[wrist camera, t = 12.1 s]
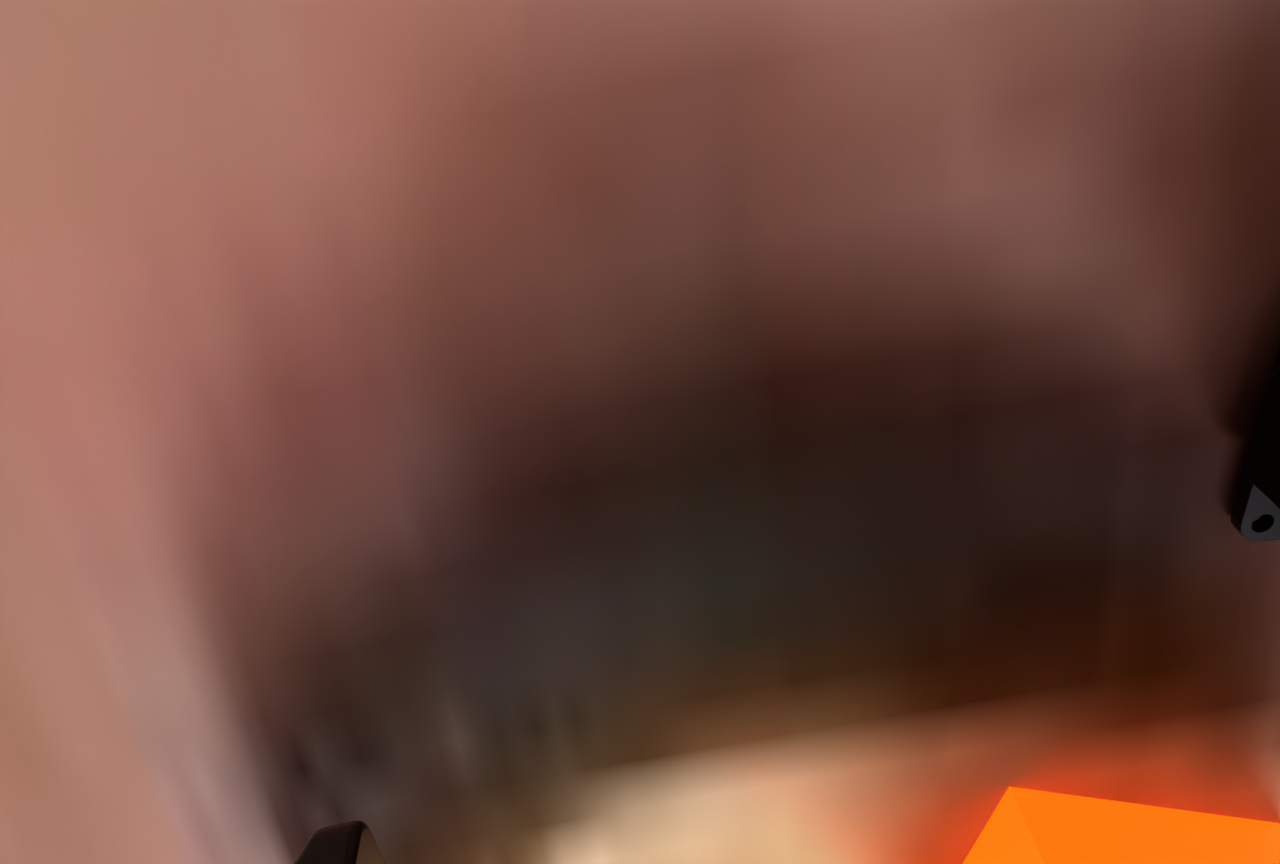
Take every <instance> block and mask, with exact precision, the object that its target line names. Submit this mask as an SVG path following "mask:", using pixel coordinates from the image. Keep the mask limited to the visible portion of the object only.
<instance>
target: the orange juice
mask: <svg viewBox="0 0 1280 864" xmlns="http://www.w3.org/2000/svg"><path fill="white" fill-rule="evenodd" d="M963 864H1280V823H1274V822H1267V821H1259V820H1252V819H1245V818H1237V817H1230V816H1223V815H1215V814H1208V813H1201V812H1193V811H1186V810H1179V809H1171V808H1164V807H1156V806H1149V805H1142V804H1134V803H1127V802H1120V801H1112V800H1105V799H1098V798H1090V797H1083V796H1075V795H1068V794H1061V793H1053V792H1046V791H1039V790H1031V789H1024V788H1017V787H1009V788H1008V789H1007V791H1006V792H1005V794H1004V796H1003V797H1002V799H1001V801H1000V802H999V804H998V806H997V807H996V809H995V811H994V812H993V814H992V816H991V817H990V819H989V821H988V822H987V824H986V826H985V827H984V829H983V831H982V832H981V834H980V836H979V837H978V839H977V840H976V842H975V844H974V845H973V847H972V849H971V850H970V852H969V854H968V855H967V857H966V859H965V860H964V862H963Z"/></svg>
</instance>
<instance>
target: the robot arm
mask: <svg viewBox="0 0 1280 864" xmlns="http://www.w3.org/2000/svg"><path fill="white" fill-rule="evenodd" d="M1260 515H1262V516H1261V518H1259V519H1258V520H1257V521H1254V520H1255V519H1256V518H1257V517H1259V516H1260ZM1253 521H1254V522H1253ZM1231 523H1232V524H1233V526H1234V528H1235V529H1236V530H1237V531H1238V532H1239V533H1240V534H1241V535H1242V536H1243V537H1244V538H1246V539H1248V540H1249V541H1268V540H1280V348H1279V352H1278V355H1277V359H1276V362H1275V365H1274V369H1273V372H1272V376H1271V377H1270V379H1269V383H1268V386H1267V390H1266V393H1265V397H1264V400H1263V404H1262V407H1261V411H1260V414H1259V417H1258V421H1257V424H1256V428H1255V431H1254V435H1253V438H1252V442H1251V445H1250V449H1249V452H1248V456H1247V459H1246V463H1245V466H1244V470H1243V476H1242V480H1241V483H1240V487H1239V490H1238V494H1237V497H1236V501H1235V504H1234V508H1233V511H1232V515H1231ZM294 864H385V863H384V860H383V858H382V856H381V854H380V851H379V849H378V847H377V845H376V842H375V840H374V838H373V836H372V833H371V831H370V829H369V828H368V826H367V825H366V824H365V823H364V822H362V821H352V822H347V823H342V824H338V825H333V826H328V827H324V828H321V829H319V830H317V831H316V832H315V833H314V834H313V835H312V836H311V837H310V838H309V840H308V841H307V843H306V845H305V846H304V848H303V850H302V851H301V853H300V855H299V856H298V858H297V860H296V861H295V863H294Z"/></svg>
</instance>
